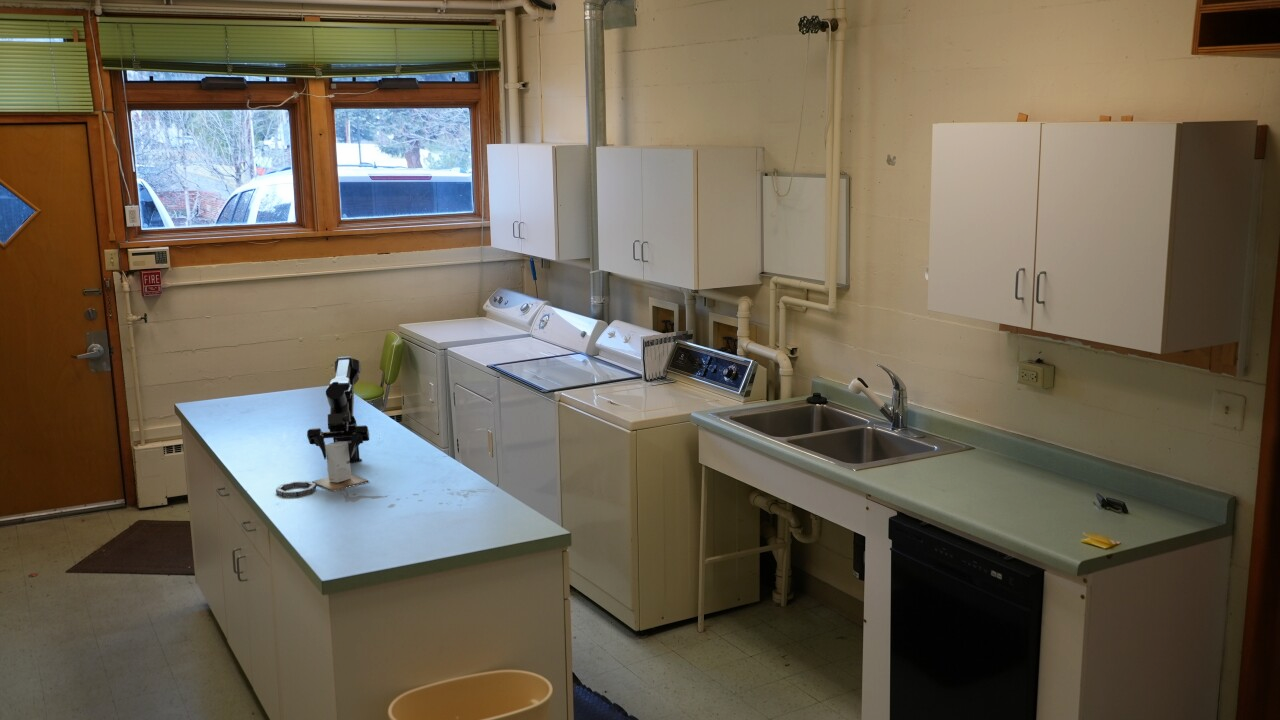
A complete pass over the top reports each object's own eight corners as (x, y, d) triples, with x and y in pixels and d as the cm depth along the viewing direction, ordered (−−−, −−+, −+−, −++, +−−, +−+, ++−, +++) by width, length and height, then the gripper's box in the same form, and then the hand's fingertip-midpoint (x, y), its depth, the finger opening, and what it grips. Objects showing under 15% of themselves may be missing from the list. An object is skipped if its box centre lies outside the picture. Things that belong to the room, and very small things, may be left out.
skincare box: (338, 483, 349) (334, 445, 347) (328, 481, 351) (324, 444, 349) (352, 478, 354) (348, 441, 352) (342, 477, 356) (339, 440, 355)
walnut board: (348, 474, 362) (348, 472, 361) (369, 482, 352) (368, 480, 352) (311, 483, 353) (311, 481, 353) (331, 491, 344) (331, 489, 343)
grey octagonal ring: (304, 483, 352) (304, 479, 352) (321, 490, 344) (321, 486, 344) (271, 491, 345) (270, 487, 345) (287, 499, 337) (287, 494, 337)
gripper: (305, 404, 350) (303, 447, 342) (365, 400, 353) (364, 443, 344) (311, 422, 359) (309, 464, 351) (369, 418, 362) (369, 460, 353)
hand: (337, 458), depth 350 cm, fingers open, 8 cm apart
